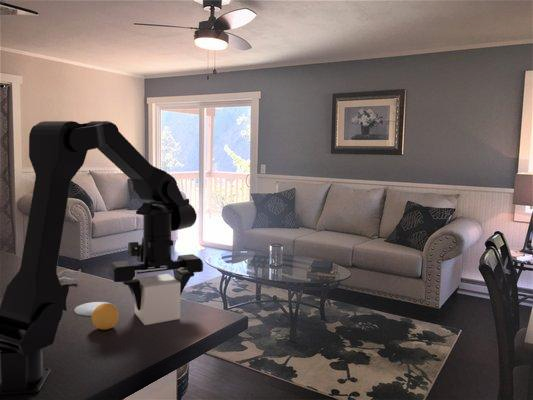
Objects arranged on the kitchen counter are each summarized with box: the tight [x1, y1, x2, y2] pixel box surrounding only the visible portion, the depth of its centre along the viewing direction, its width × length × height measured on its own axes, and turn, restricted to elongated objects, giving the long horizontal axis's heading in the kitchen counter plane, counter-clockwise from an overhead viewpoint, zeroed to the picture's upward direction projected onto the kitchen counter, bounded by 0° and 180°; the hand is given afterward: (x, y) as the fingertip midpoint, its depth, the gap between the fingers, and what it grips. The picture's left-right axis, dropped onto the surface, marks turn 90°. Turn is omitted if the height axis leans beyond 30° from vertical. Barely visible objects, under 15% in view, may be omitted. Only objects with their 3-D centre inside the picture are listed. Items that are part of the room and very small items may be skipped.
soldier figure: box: [57, 268, 82, 283], centre depth 111 cm, size 8×5×12 cm
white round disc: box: [73, 301, 111, 317], centre depth 96 cm, size 8×8×1 cm
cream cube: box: [134, 273, 181, 326], centre depth 92 cm, size 8×8×8 cm
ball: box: [91, 302, 120, 331], centre depth 85 cm, size 5×5×5 cm
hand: (157, 306), depth 93 cm, fingers closed on cream cube, 7 cm apart
